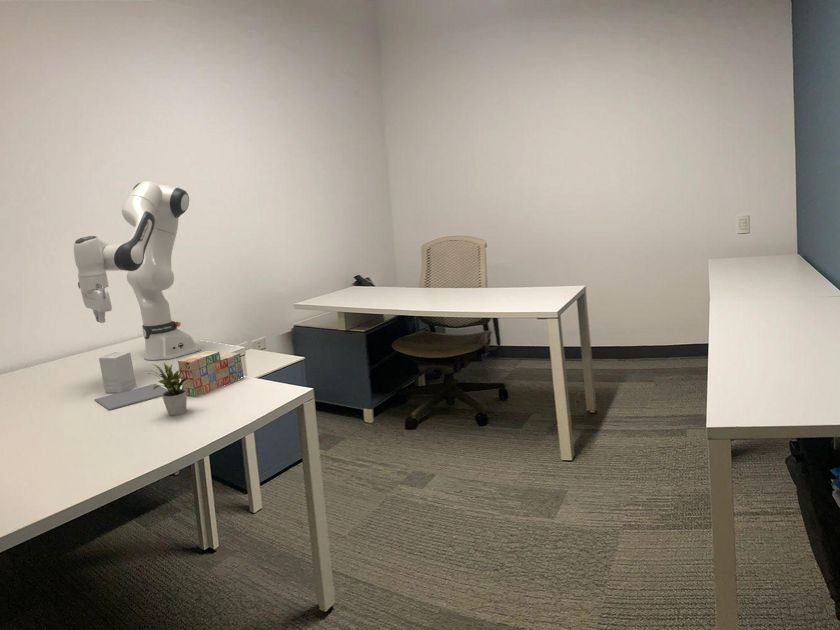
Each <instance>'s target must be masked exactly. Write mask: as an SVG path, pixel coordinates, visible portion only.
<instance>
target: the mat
mask: <svg viewBox="0 0 840 630" xmlns="http://www.w3.org/2000/svg"><path fill="white" fill-rule="evenodd" d="M155 385H156V386H158V385H159V384H157V383H152V385H151V384H148V385H143V386H141V387H135V388H132V389H130V390H127V391H124V392H121V393H112V394H108V395H105V396H102V397H97V398H95V399H94V401H95V402H96V403H97V404H99V405H100V406H101V407H103V408H105V409H107V410H108V411H113V410H117V409H121V408H124V407H127V406H132V405H136V404H138V403H143V402H146V401H151V400H154V399H157V398H161V397H162V394H163V393H165V392H167V391H168V389H167V388H166V387H164V386H162V385H161V386H159V387H157V388H156V389H154V390H153V388H154V387H155ZM164 390H165V391H164Z"/></svg>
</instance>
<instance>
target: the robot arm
mask: <svg viewBox="0 0 840 630" xmlns="http://www.w3.org/2000/svg"><path fill="white" fill-rule="evenodd" d="M189 206H190V197H189V194H188V192H187V191H186V190H184V189H182V188H180V187H174V186H171V185H167V184H163V183H161V184H160V183H155V182H153V181H150V180H145V181H144V180H143V181H141V182H138V183H137V184H136V185H134V187H133V189H132V191H131V192H130V193H129V195H128V196H127V198H126V199H125V201H124V202H123V204H122V206H121V215H122V218H124V220H125V221H126V222H127V223H128V224H129V225H130V226H131V227H133V228H134V229H133V231H132V233H131V235H130V239H128V240H126V241H124V242H120V243H109V242H106V241H102V240H101V239H100V238H99V237H98V236H96V235H90V236H89V235H87V236H83V237H80V238H78V239H76V240H75V241H74V243H73V255H74V261H75V266H76V267H77V270H78V271H77V272H78V273H77V278H78V282H77V287H78V289H80V293H81V296H82V300H83V304H84V306H85V308H87V309H91V310H92V312H93V315H94V317H95V321H96V322H97V323H100V324H104V323H106V312H111V311H113V309H112V308H113V306H112V303H111V297H110V294H109V291H108V289H106V288H108V287H109V281H108V275H107V271H109V272H110V271H112V272H113V271H114V272H115V271H125V272H126V271H127V273H126V280H127V283H128V284H129V285H130V286H131V288H132V290H133V293H134V294H135V297H136V299H137V302H138V304H139V309H140V313H141V319H142V335H143V337H144V340H145V341H144V342H145V343H144V344H145V345H144V346H145V349H144V352H145V353H144V359H145V360H146V361H155V360H172V359H175V358H179V357H182V356H185V355H186V356H187V355H189V354H192V353H197V352H200V351H202V348H201V346H199V345H197V344H196V343H195V341H194V339H193V337H192V335H190V334H188V333H186V332H185V331H182V330H180V329H178V328H179V327H180V326H181V322H180V321H173V320H172V315H171V310H170V309H171V308H170V304H169V301H168V300H167V299H166V298H165V296H164V293H163V291H164V290H168V289H170V288H171V287H172V285H173V284H174V281H175V274H174V272H173V270H172V254H173V253H172V252H173V249H174V245H175V241H176V237H177V234H178V233H177V232H178V227H179V218H180V216H181V215H183V214H185V213H186V212H187V210H188V207H189ZM144 259H145V260H144ZM143 262H144V263H143Z"/></svg>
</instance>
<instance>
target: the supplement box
mask: <svg viewBox="0 0 840 630" xmlns="http://www.w3.org/2000/svg"><path fill="white" fill-rule="evenodd" d="M98 360H99V361H98V362H99V365H100V366H99V367H100V370H101V371H100V372H101V375H102V382H103V387H104V393H111V394H117V393H121V392H124V391H128V390H132V389H136V388H137V383H136V375H135V371H134V366H133V365H134V364H133V361H132V355H131V352H122V351H121V352H119V351H118V352H116V351H115V352H111V353H109V354H105V355H104V356H101V357H99V358H98Z"/></svg>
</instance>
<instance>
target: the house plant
mask: <svg viewBox="0 0 840 630" xmlns="http://www.w3.org/2000/svg"><path fill="white" fill-rule="evenodd" d="M173 362H174V360H173V361H172V363H171V365H170V366H169V365H168V364H166V363H165V362H163V366H164V371H165V372H164V371H163V370H162V368H161V367H160V366H159V365H156V364H154V363H153V364H151V365H152V366H155V368H157V370H158V371H159V373H158V372H156V371H153V370H151V372H153V375H154V376H156V377H157V378H158V379H159V380H158V382H157V383H160V384H162V385H163V388H165V389H168V391H167V392H165V393H163V394H162V400H163V403H164V406H165V409H166V411H167V414H168V415H169V416H179V415H183V414H184V413H186V412H187V405H188V404H187V399H188V396H187V390H185V389H183V388H182V384H183V382H184V381H186V380H187V379H190V378H186V379H183V380H181V376H182V375H183V374H182V375H180V373H181V371H182V368H183V365H184V364H183V365H182V367H181V370H180V372H179V369H178V370H176V371H175V372H174V373H173V371H172V369H173V367H172V366H173ZM191 365H192V364H191ZM191 365H190V366H191ZM188 367H189V366H188ZM188 367H187V368H188ZM187 368H186V370H187ZM186 370H185V371H186ZM185 371H184V372H185ZM142 372H144V371H142ZM184 372H183V373H184ZM148 374H149V375H150V374H151V375H152V373H148ZM157 375H158V376H157ZM191 381H192V380H191ZM188 382H190V381H188ZM188 382H187V383H188ZM187 383H186V384H187ZM152 384H153V383H152ZM152 384H150V385H152ZM157 385H158V386H156V385H155V387H154V388H153V390H154V389H156V388H157V387H159V386H161V387H162V385H159V384H157ZM183 387H184V386H183ZM164 391H165V390H164Z"/></svg>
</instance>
